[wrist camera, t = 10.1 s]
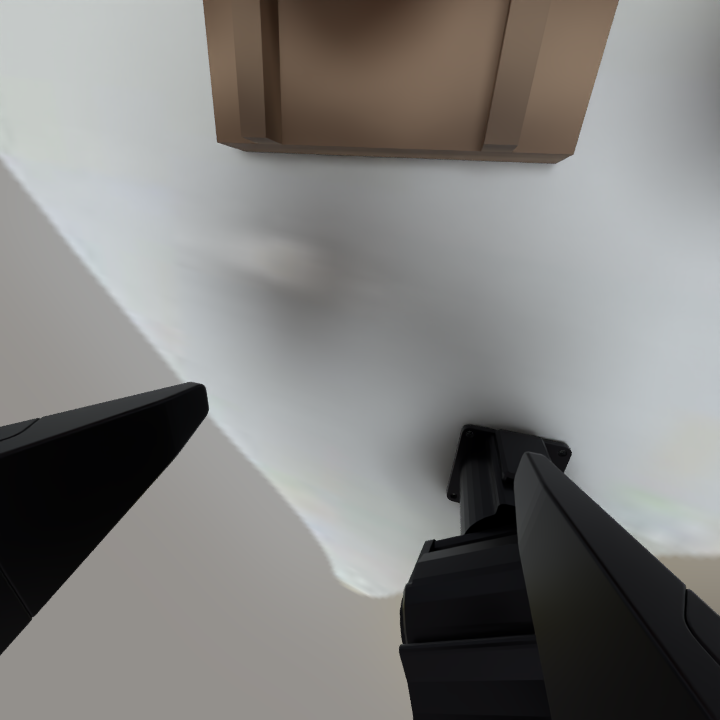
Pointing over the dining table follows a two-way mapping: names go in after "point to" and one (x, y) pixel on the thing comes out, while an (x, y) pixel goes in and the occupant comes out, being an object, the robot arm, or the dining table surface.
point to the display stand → (406, 76)
